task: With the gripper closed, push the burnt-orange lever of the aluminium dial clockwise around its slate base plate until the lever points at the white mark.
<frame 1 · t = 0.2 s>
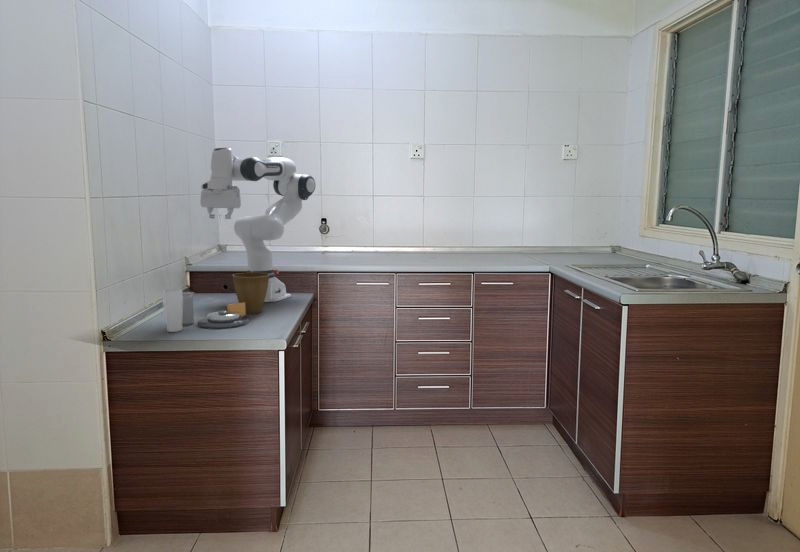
hand: (219, 218, 247), 39 cm above the counter, tool pointing down, fingers open, 8 cm apart
plant pot: (252, 312, 245), on the counter
beverage can: (185, 324, 224), on the counter
dial: (227, 311, 225), point 4 cm above the counter, hinge at 170.0°
dial plate: (223, 323, 225), on the counter
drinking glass: (174, 331, 212), on the counter
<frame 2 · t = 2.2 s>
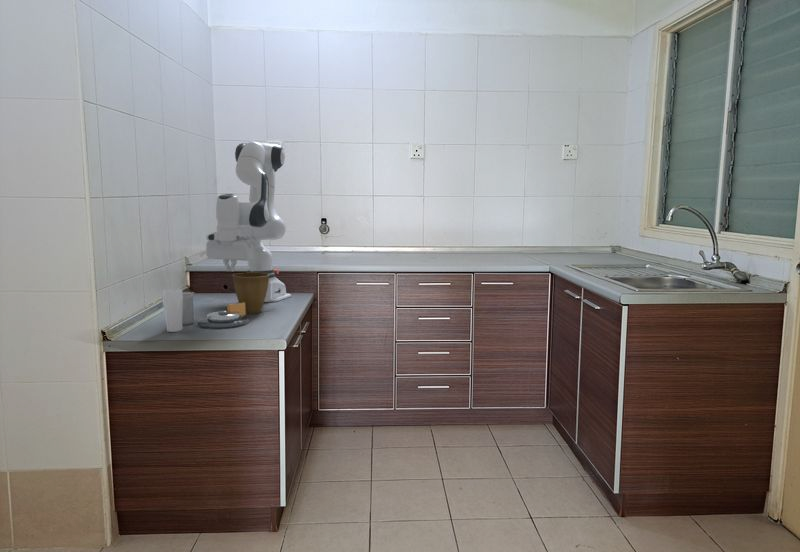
hand: (230, 270, 230), 19 cm above the counter, tool pointing down, fingers closed
nothing on the counter moved.
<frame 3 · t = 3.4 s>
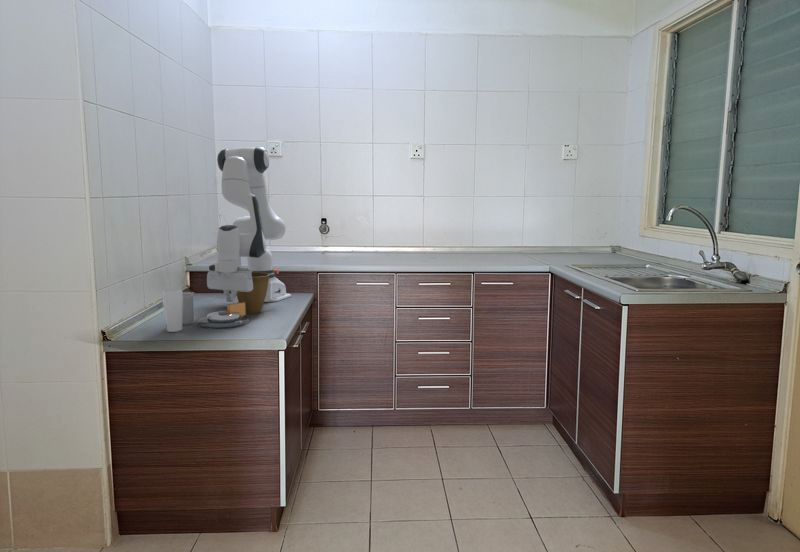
hand: (230, 301, 232), 7 cm above the counter, tool pointing down, fingers closed
nothing on the counter moved.
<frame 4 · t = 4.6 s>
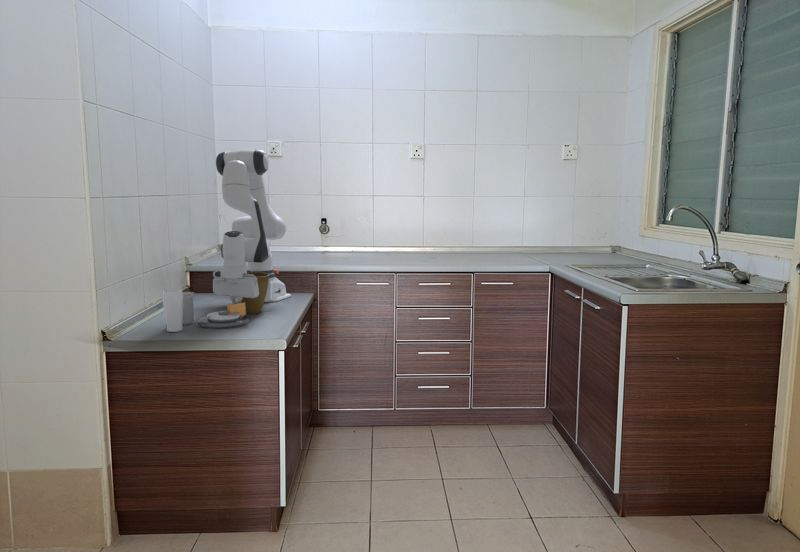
hand: (236, 307, 231), 5 cm above the counter, tool pointing down, fingers closed
dial: (227, 311, 225), point 4 cm above the counter, hinge at 169.2°, touching gripper
everything else where it was.
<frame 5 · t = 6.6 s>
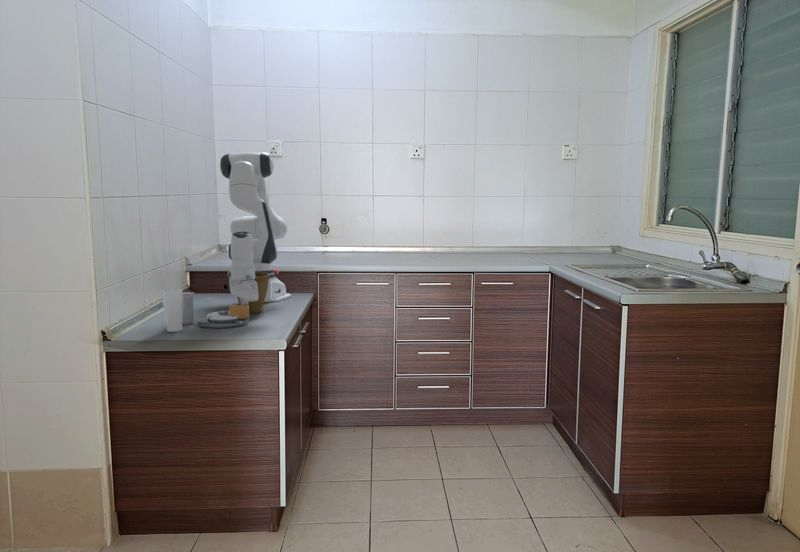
hand: (244, 309, 227), 5 cm above the counter, tool pointing down, fingers closed
dial: (228, 312, 224), point 4 cm above the counter, hinge at 126.3°, touching gripper
everything else where it was.
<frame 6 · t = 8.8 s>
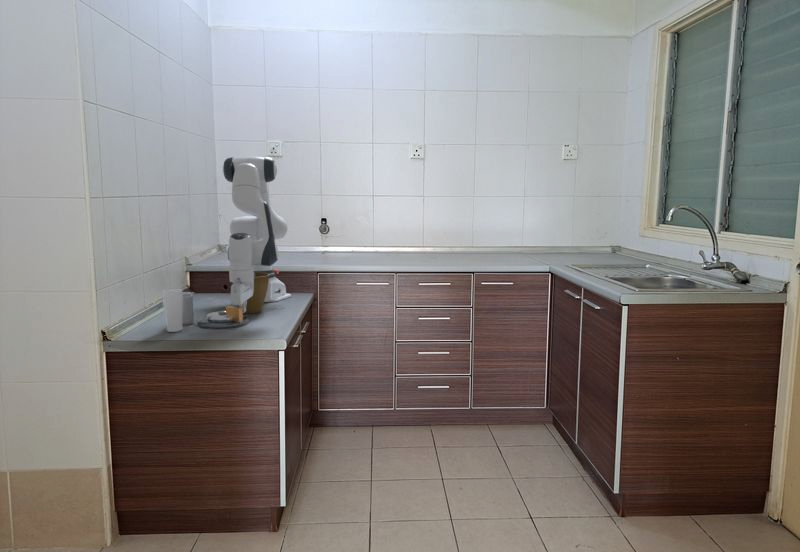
hand: (243, 312, 222), 5 cm above the counter, tool pointing down, fingers closed
dial: (226, 312, 223), point 4 cm above the counter, hinge at 87.0°, touching gripper
everything else where it was.
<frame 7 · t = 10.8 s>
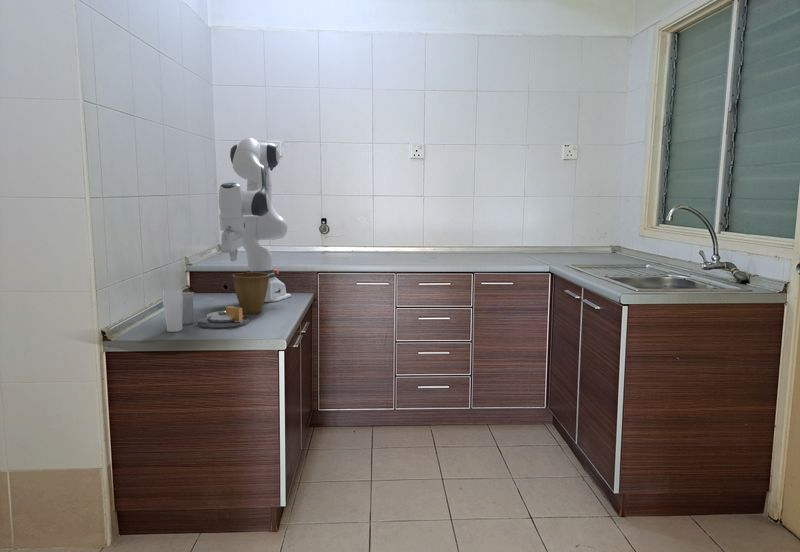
hand: (233, 260, 228), 23 cm above the counter, tool pointing down, fingers closed
dial: (226, 312, 223), point 4 cm above the counter, hinge at 86.7°
everything else where it was.
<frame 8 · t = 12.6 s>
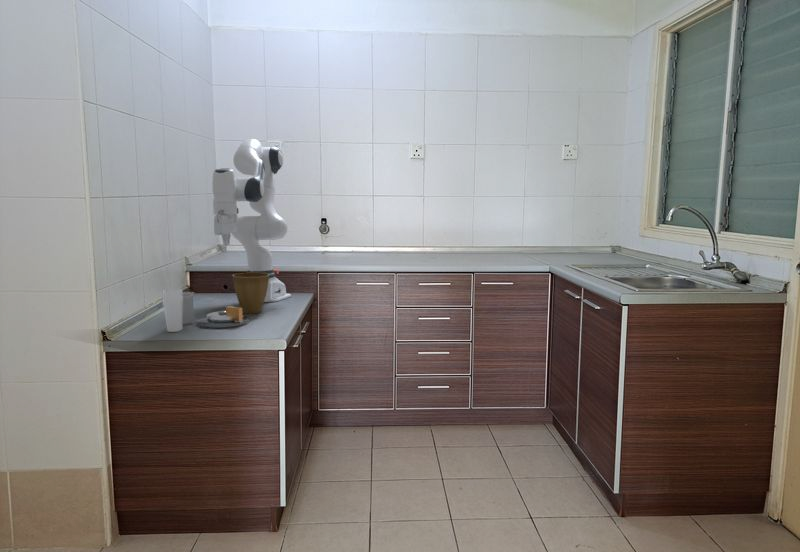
hand: (226, 244, 232), 29 cm above the counter, tool pointing down, fingers closed
nothing on the counter moved.
at the end: dial at +87° (first picture: +170°); dial touching nothing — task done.
